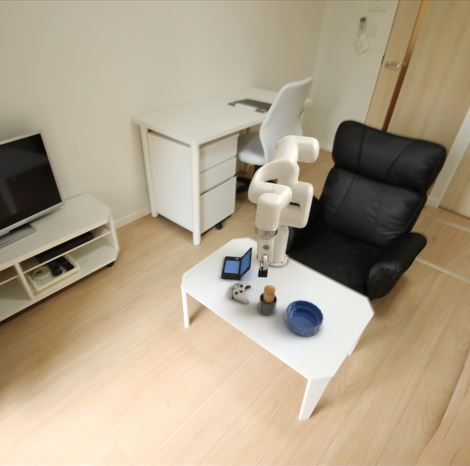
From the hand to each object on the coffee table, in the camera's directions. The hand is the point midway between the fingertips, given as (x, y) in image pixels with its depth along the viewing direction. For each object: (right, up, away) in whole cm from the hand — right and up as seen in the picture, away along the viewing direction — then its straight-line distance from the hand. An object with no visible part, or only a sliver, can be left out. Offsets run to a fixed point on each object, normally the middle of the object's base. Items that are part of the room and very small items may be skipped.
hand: (261, 267), depth 114 cm
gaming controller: (-5, -15, +26) cm, 30 cm away
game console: (-5, -5, +39) cm, 39 cm away
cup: (+5, -20, +19) cm, 28 cm away
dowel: (+5, -19, +18) cm, 27 cm away
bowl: (+19, -24, +13) cm, 33 cm away
